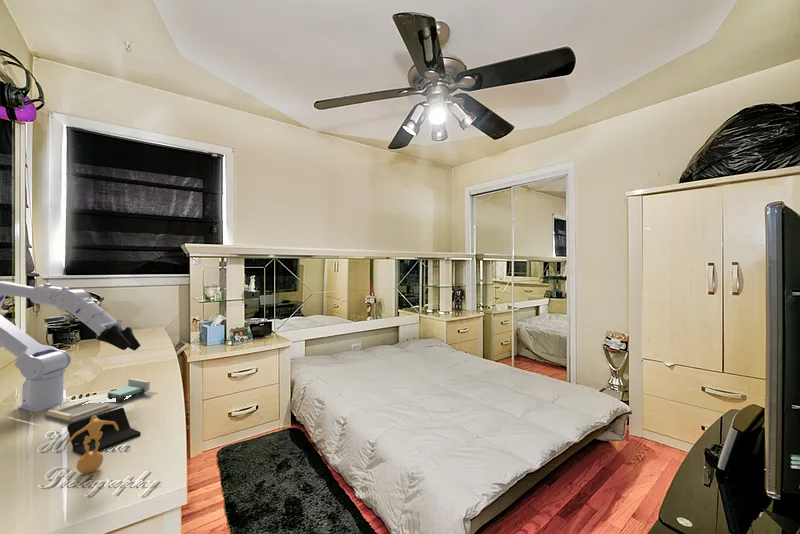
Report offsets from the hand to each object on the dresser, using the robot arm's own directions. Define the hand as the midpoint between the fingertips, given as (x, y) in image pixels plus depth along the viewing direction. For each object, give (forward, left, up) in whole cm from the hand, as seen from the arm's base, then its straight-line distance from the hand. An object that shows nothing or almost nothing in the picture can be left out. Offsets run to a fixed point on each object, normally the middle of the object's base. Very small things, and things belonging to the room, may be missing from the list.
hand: (132, 347), depth 101 cm
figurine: (+31, -26, -17) cm, 44 cm away
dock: (-5, -4, -17) cm, 18 cm away
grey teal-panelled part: (-5, +2, -17) cm, 17 cm away
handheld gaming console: (+18, -17, -17) cm, 31 cm away
